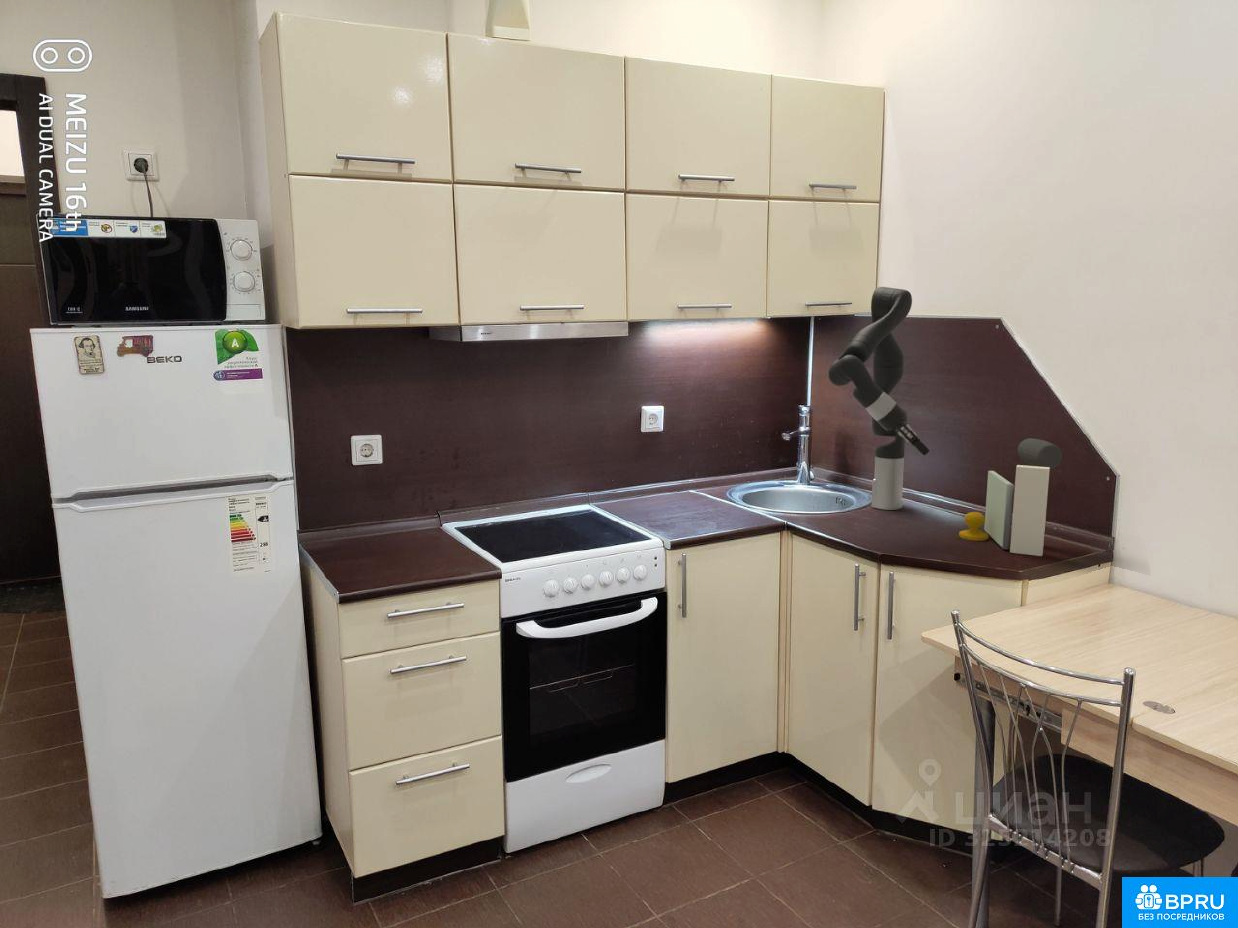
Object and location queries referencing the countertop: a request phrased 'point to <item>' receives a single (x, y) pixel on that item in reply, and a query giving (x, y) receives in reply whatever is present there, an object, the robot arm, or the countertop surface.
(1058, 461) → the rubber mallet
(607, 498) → the countertop surface
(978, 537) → the doorknob
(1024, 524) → the panel
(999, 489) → the door
